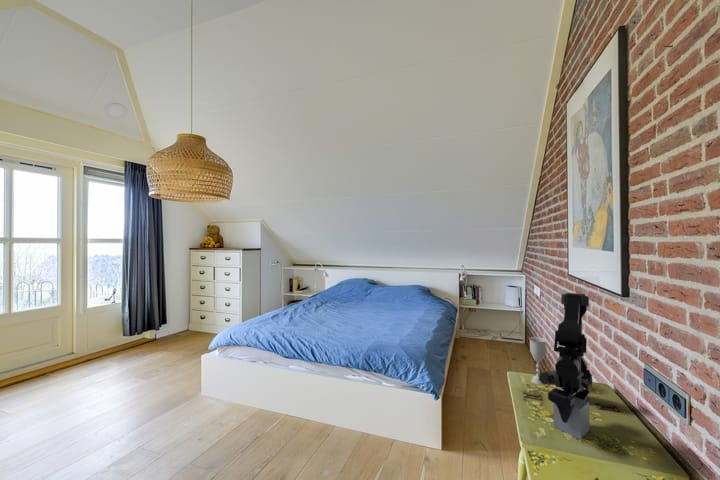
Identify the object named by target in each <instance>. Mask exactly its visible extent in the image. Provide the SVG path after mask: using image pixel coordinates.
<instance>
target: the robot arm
mask: <svg viewBox="0 0 720 480" xmlns="http://www.w3.org/2000/svg"><path fill="white" fill-rule="evenodd" d="M560 301H561V303H560V304H561V305H563V310H564V316H563V321H561V322H560V323H558V327H557V330H556V329H555V331H554V346H553V351H554V352H557V353H558V356H559V357H558V358H557V361H556V363H555V367H554V368H555V370H549V371H547V370H546V371H542V372H539V381H541V383H543V385H542V386H546V385H555V387H554V388H553V389H552V390H550V391H549V392H547V400H548V401H550V402H551V403H553V404H554V403H555V404H556V405H557V408H558V410H559V413H560V416H561V419H562V421H563V422H564V423H567V421H568V419H569V417H570V415H571V413H572V410H573V408H574V406H575V404H574V402H575V397H576V398H579V399H582V400H585V401H588V402H589V400H590V397H589V394H590V392H591V391H592V386H593V375H592V373H591V372H590V369H588V363H587V361H586V360H585V358H584V356H585V354H587V344H588V343H587V341H588V340H587V338H586V335H585V334H584V333H583V317H584V315H585V314H586V313H587V311H588V307H590V297H589V296H588V295H586V293H578V292H577V293H576V292H565V293H563V294H561V299H560ZM559 388H561V389H559Z"/></svg>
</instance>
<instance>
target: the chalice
mask: <svg viewBox="0 0 720 480" xmlns="http://www.w3.org/2000/svg"><path fill="white" fill-rule="evenodd" d="M528 340H529V351H530V354H531V356H532V358H533V360H534V361H535V362H536V365H535V367H536V369H535V372H536V374H535V376H534V375H533V377H532V378H531V380H530V381H531V382H532V383H533V384H535V385H540V386H544V385H543V383H541V381H539V375H540V373H541V370H540V368H541V365H540V363H541V362H542V361H543V360H544V358H545V355H546V353H547V342H548V340H547V339H546V338H543V337H538V336H530V337H528Z"/></svg>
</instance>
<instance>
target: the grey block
mask: <svg viewBox="0 0 720 480" xmlns="http://www.w3.org/2000/svg"><path fill="white" fill-rule="evenodd" d="M574 404H575V406H574V408H573V410H572V413H571V415H570V417H569V419H568V421H567V423H564V422H563V421H562V419H561V416H560V413H559V410H558V408H557V405H556V404H555V403H553V428H554V429H557V430H559V431H562V432H564V433H567V435H568V434H569V435H571V436H572V437H574V438H578V439H580V440H581V439H582V438H584V436H585V435H587V433H589V431H590V430H591V429H590V428H591V426H590V401H589V400H588V401H585V400H582V399H579V398H576V397H575V402H574Z"/></svg>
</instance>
